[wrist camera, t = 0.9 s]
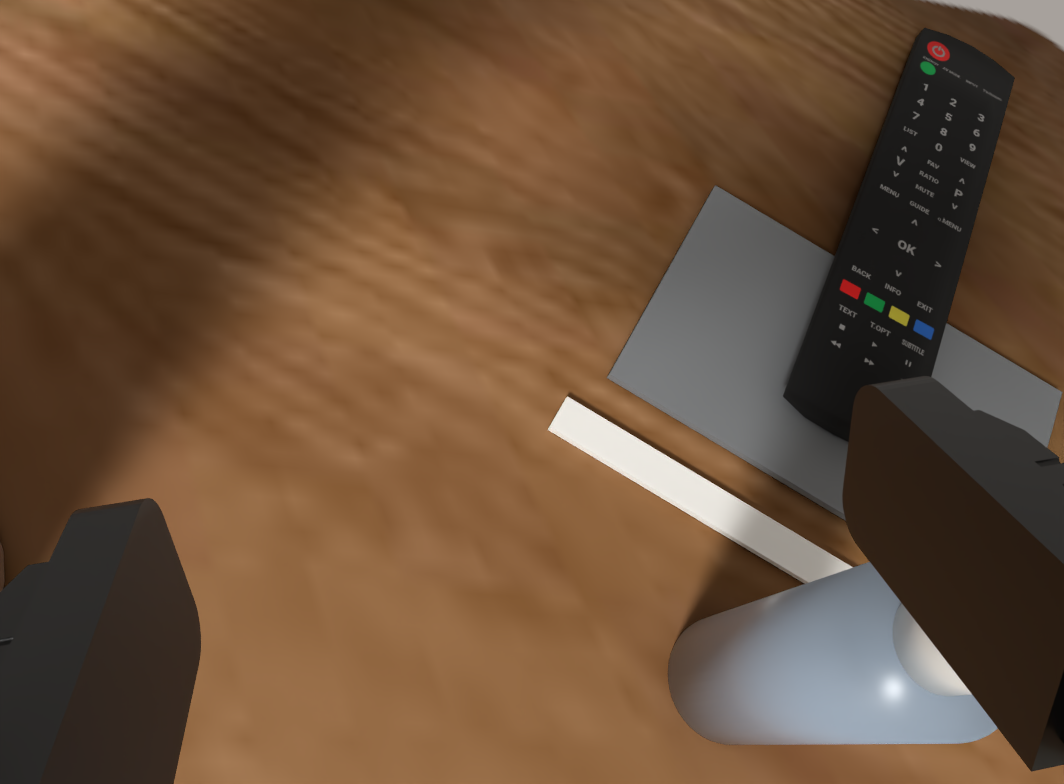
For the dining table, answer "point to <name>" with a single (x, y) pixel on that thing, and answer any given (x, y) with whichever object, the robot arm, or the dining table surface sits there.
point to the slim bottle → (821, 671)
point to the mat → (778, 351)
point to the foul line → (693, 494)
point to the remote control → (904, 232)
